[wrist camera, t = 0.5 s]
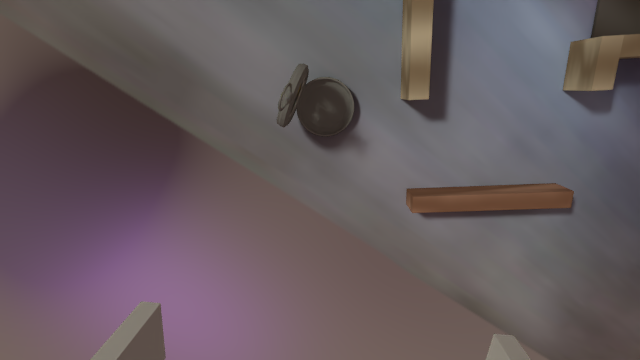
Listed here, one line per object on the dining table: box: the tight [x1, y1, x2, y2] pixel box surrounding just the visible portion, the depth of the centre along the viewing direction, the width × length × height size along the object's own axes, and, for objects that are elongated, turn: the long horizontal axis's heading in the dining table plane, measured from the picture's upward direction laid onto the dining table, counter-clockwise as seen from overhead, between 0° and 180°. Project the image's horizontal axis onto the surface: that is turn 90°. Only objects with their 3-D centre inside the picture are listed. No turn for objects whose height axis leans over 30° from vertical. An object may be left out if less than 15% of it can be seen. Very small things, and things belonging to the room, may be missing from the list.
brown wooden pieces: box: [401, 0, 640, 213], centre depth 32 cm, size 32×27×4 cm
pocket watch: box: [277, 64, 354, 136], centre depth 31 cm, size 8×8×10 cm
